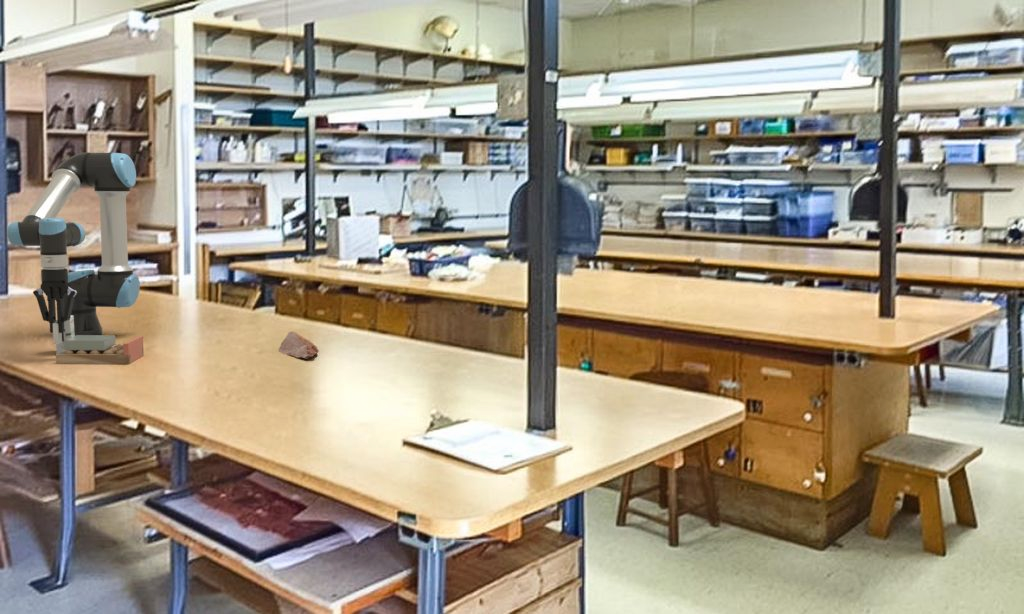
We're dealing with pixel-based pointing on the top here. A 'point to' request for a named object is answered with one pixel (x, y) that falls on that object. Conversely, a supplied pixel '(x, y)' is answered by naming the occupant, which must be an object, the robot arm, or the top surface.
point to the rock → (297, 346)
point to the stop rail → (133, 348)
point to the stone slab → (90, 342)
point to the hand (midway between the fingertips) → (57, 343)
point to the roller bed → (95, 356)
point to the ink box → (66, 334)
